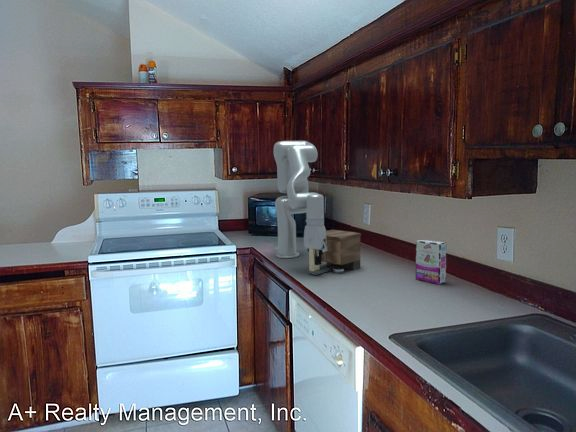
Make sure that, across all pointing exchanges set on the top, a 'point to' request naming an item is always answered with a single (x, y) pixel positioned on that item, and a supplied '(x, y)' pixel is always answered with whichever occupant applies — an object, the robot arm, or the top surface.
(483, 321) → the top surface
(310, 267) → the wood and grey l-block
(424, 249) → the candy bar box
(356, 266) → the cabinet
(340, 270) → the steel token
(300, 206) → the robot arm
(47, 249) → the top surface
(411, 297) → the top surface
